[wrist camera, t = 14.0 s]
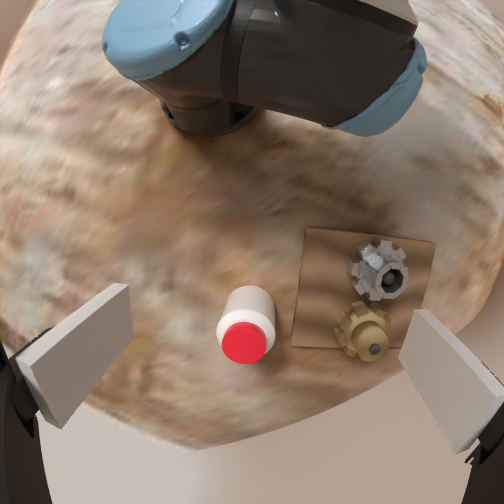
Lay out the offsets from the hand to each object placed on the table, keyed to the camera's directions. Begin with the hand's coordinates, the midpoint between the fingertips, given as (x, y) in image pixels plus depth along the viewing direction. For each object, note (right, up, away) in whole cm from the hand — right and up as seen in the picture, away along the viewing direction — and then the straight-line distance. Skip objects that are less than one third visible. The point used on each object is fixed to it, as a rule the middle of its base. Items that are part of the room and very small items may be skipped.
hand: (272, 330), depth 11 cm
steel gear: (+17, +1, +27) cm, 32 cm away
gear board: (+17, -3, +29) cm, 34 cm away
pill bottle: (-1, -5, +31) cm, 32 cm away
